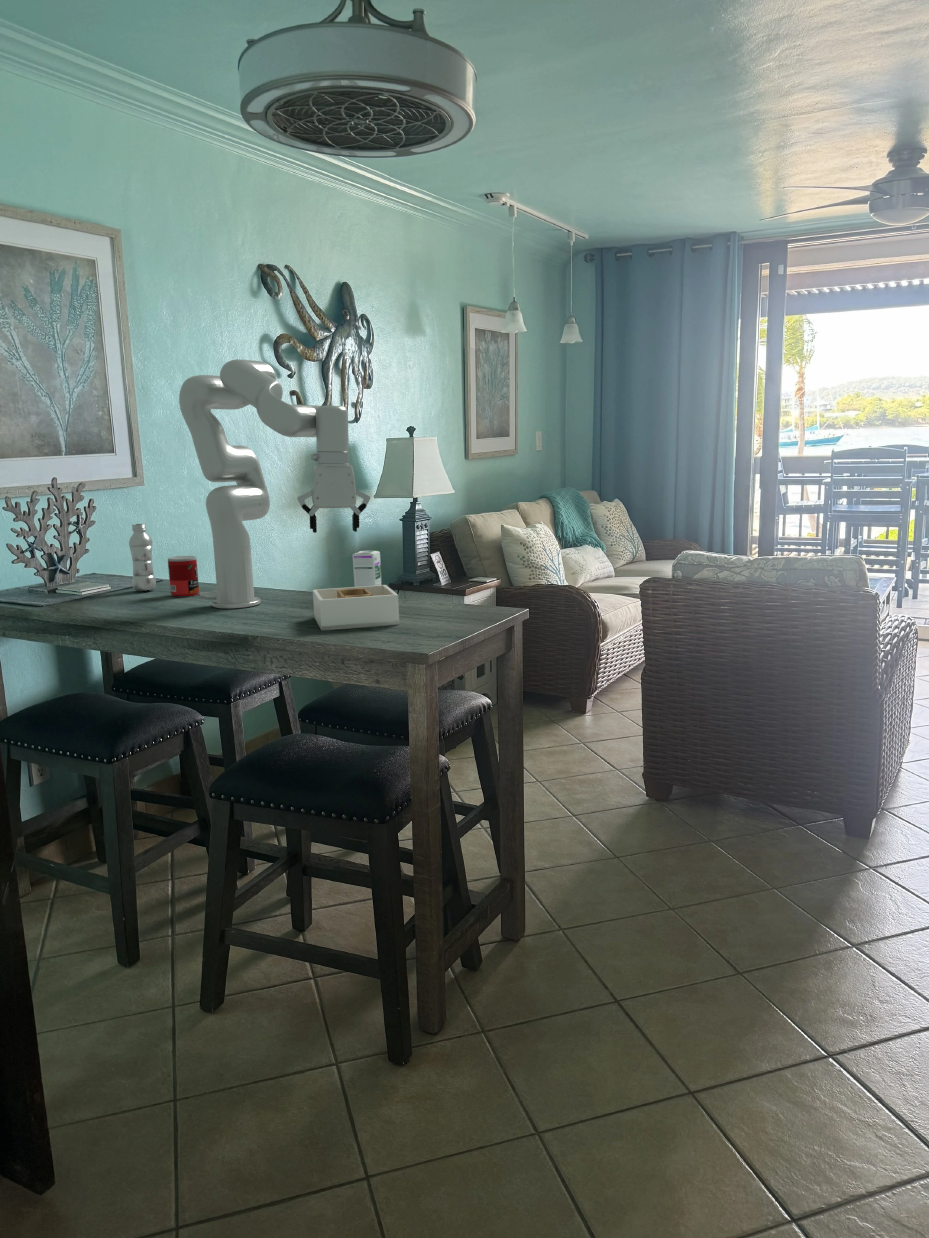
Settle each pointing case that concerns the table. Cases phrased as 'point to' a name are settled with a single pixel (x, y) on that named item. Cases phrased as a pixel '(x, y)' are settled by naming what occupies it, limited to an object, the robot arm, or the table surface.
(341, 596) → the wooden crate
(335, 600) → the plastic crate
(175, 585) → the canned food
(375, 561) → the syrup box
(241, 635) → the table surface
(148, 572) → the plastic bottle
